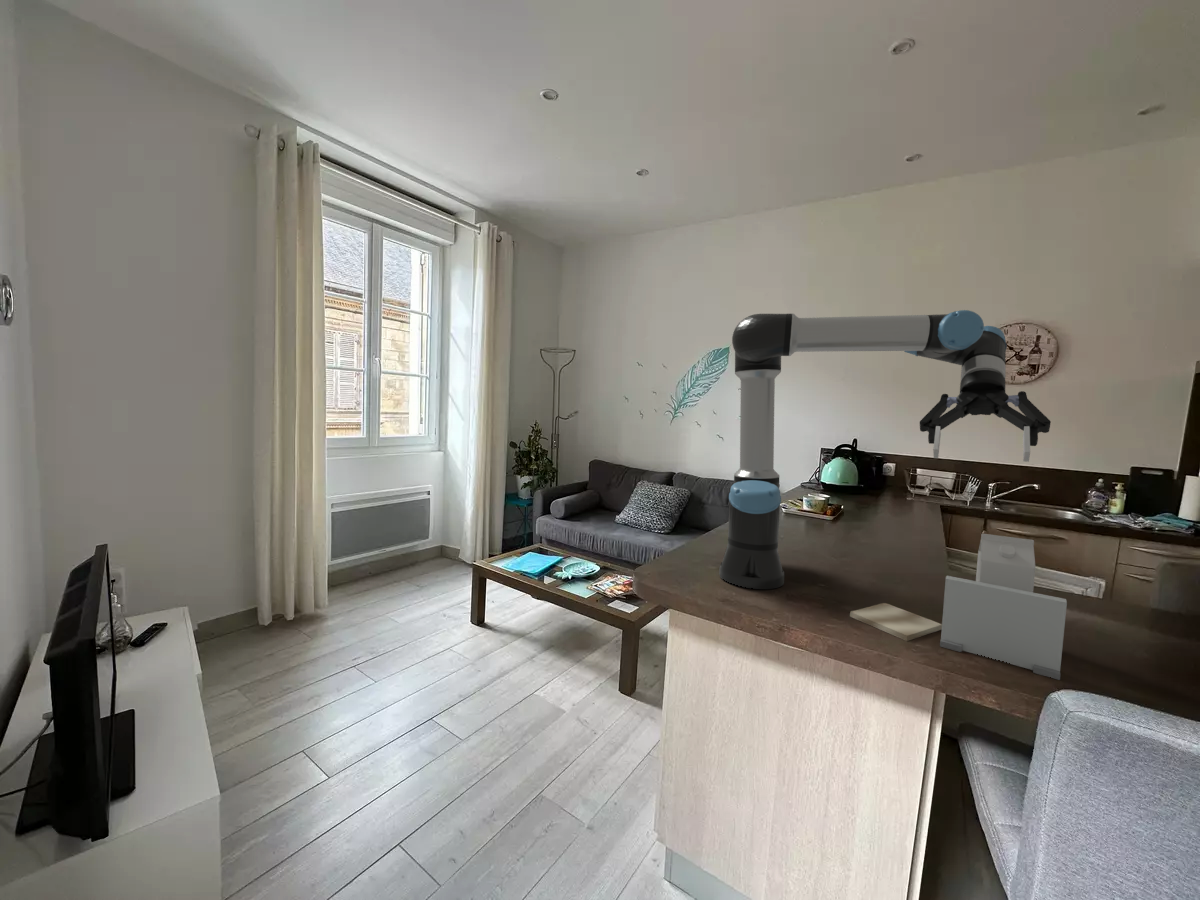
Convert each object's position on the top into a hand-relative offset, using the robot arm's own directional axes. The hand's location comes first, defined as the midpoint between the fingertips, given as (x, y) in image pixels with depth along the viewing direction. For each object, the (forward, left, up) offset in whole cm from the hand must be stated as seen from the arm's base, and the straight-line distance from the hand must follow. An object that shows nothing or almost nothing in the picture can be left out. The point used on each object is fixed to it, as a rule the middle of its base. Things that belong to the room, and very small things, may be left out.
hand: (979, 455), depth 89 cm
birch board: (-5, -15, -33) cm, 36 cm away
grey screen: (+10, -12, -33) cm, 37 cm away
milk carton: (+7, -4, -33) cm, 34 cm away
